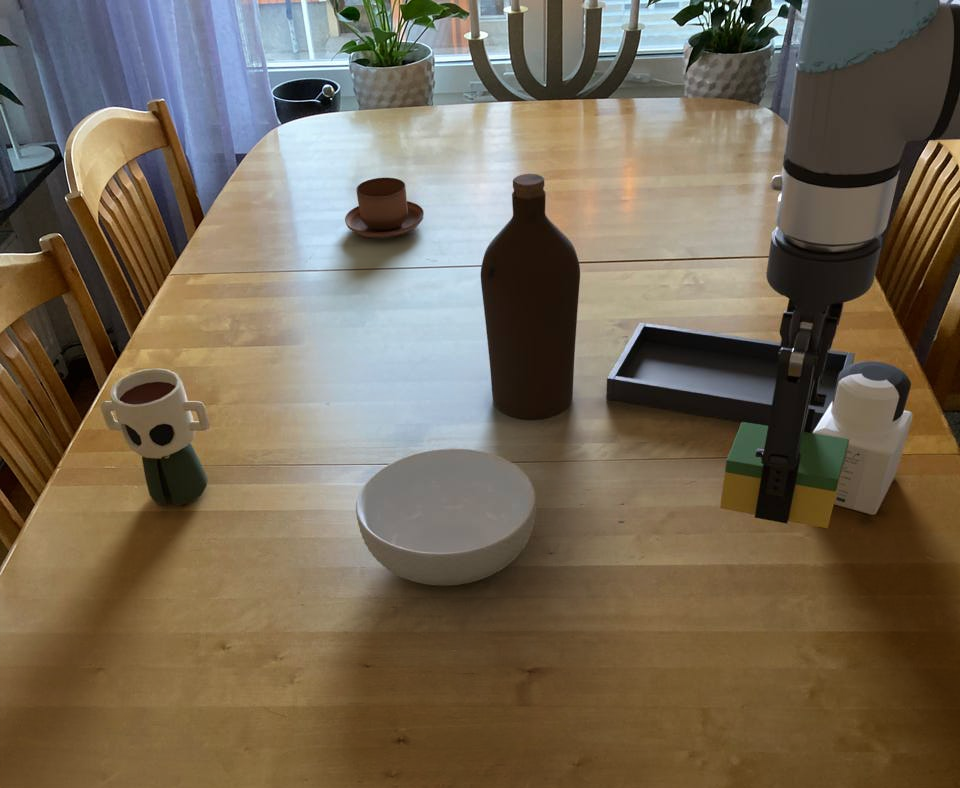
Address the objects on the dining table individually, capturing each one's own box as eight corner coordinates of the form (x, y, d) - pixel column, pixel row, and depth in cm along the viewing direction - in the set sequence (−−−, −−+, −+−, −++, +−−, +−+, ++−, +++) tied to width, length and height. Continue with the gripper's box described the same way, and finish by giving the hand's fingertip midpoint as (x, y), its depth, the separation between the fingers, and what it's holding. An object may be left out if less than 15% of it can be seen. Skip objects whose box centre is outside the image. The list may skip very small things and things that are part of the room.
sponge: (838, 486, 87) (849, 438, 84) (827, 528, 83) (838, 479, 80) (735, 468, 90) (741, 421, 86) (719, 508, 86) (726, 460, 83)
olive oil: (557, 430, 112) (558, 206, 95) (472, 412, 116) (457, 193, 98) (591, 383, 119) (597, 165, 101) (509, 367, 123) (501, 154, 105)
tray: (850, 374, 117) (855, 353, 115) (832, 437, 109) (837, 415, 107) (638, 342, 125) (639, 322, 123) (605, 399, 116) (606, 378, 114)
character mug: (121, 512, 106) (79, 406, 97) (142, 472, 111) (105, 367, 102) (220, 513, 105) (188, 406, 96) (237, 472, 110) (208, 367, 101)
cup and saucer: (333, 226, 155) (326, 185, 150) (399, 205, 159) (395, 165, 154) (370, 252, 147) (364, 210, 143) (439, 230, 152) (436, 188, 147)
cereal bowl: (559, 520, 101) (560, 463, 96) (500, 630, 91) (497, 572, 86) (408, 489, 106) (401, 432, 101) (335, 589, 96) (323, 532, 91)
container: (821, 456, 107) (847, 345, 97) (895, 475, 103) (929, 363, 94) (798, 496, 102) (822, 383, 93) (874, 517, 99) (907, 403, 90)
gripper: (797, 173, 77) (757, 428, 94) (745, 284, 65) (710, 554, 82) (899, 182, 75) (840, 441, 91) (865, 298, 63) (804, 573, 79)
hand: (779, 494), depth 87 cm, fingers closed on sponge, 6 cm apart
